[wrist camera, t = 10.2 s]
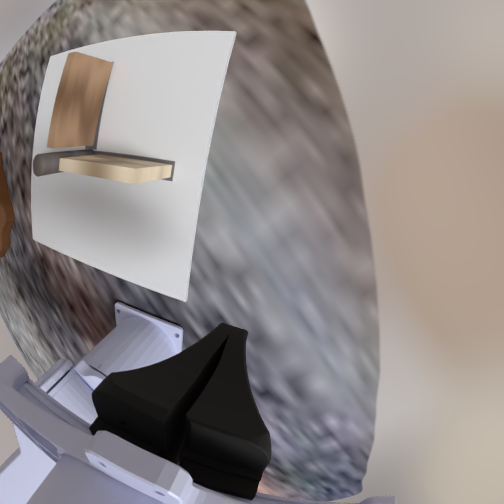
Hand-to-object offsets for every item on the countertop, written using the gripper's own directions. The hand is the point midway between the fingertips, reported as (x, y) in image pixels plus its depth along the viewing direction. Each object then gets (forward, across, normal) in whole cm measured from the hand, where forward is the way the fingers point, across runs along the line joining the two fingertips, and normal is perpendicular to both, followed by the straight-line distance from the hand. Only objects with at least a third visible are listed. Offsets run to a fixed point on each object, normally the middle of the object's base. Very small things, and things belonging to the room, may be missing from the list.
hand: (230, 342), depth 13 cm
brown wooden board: (+9, +18, -11) cm, 23 cm away
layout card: (+9, +18, -6) cm, 21 cm away
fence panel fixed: (+9, +14, -6) cm, 18 cm away
